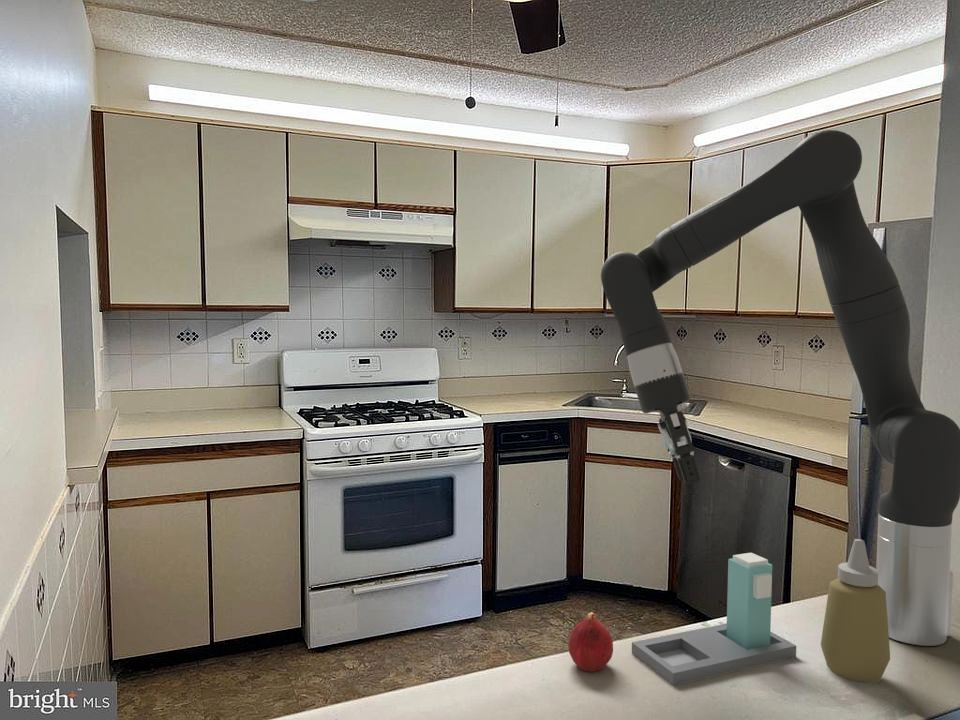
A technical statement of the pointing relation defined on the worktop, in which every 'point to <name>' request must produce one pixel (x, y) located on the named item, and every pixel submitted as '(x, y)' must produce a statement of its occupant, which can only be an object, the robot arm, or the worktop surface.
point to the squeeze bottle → (856, 621)
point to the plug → (749, 600)
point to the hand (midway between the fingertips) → (690, 481)
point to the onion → (590, 644)
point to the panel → (706, 654)
